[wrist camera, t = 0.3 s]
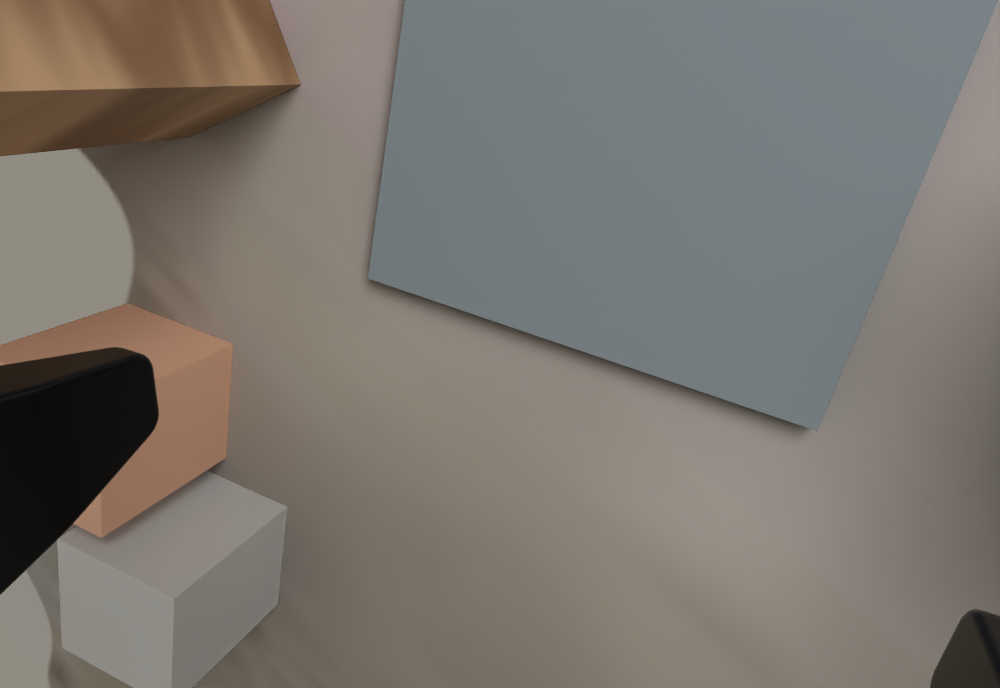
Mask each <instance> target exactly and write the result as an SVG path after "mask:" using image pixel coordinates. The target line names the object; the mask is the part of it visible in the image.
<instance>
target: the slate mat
mask: <svg viewBox="0 0 1000 688" xmlns="http://www.w3.org/2000/svg"><path fill="white" fill-rule="evenodd" d="M997 2H998V0H405V4H404V11H403V19H402V26H401V34H400V41H399V49H398V56H397V64H396V71H395V79H394V86H393V94H392V101H391V108H390V116H389V123H388V131H387V138H386V146H385V153H384V161H383V168H382V176H381V183H380V191H379V198H378V206H377V213H376V221H375V228H374V236H373V243H372V251H371V258H370V266H369V273H368V279H371V280H374V281H377V282H380V283H383V284H385V285H388V286H391V287H394V288H397V289H400V290H403V291H406V292H409V293H412V294H415V295H418V296H421V297H424V298H427V299H430V300H433V301H435V302H438V303H441V304H444V305H447V306H450V307H453V308H456V309H459V310H462V311H465V312H468V313H471V314H474V315H477V316H480V317H483V318H486V319H488V320H491V321H494V322H497V323H500V324H503V325H506V326H509V327H512V328H515V329H518V330H521V331H524V332H527V333H530V334H533V335H536V336H538V337H541V338H544V339H547V340H550V341H553V342H556V343H559V344H562V345H565V346H568V347H571V348H574V349H577V350H580V351H583V352H586V353H588V354H591V355H594V356H597V357H600V358H603V359H606V360H609V361H612V362H615V363H618V364H621V365H624V366H627V367H630V368H633V369H636V370H638V371H641V372H644V373H647V374H650V375H653V376H656V377H659V378H662V379H665V380H668V381H671V382H674V383H677V384H680V385H683V386H686V387H688V388H691V389H694V390H697V391H700V392H703V393H706V394H709V395H712V396H715V397H718V398H721V399H724V400H727V401H730V402H733V403H736V404H738V405H741V406H744V407H747V408H750V409H753V410H756V411H759V412H762V413H765V414H768V415H771V416H774V417H777V418H780V419H783V420H786V421H788V422H791V423H794V424H797V425H800V426H803V427H806V428H809V429H812V430H815V431H817V430H818V427H819V425H820V423H821V420H822V418H823V415H824V413H825V411H826V408H827V406H828V404H829V401H830V399H831V396H832V394H833V392H834V389H835V387H836V385H837V382H838V380H839V377H840V375H841V373H842V370H843V368H844V365H845V363H846V361H847V358H848V356H849V354H850V351H851V349H852V346H853V344H854V342H855V339H856V337H857V335H858V332H859V330H860V327H861V325H862V323H863V320H864V318H865V316H866V313H867V311H868V308H869V306H870V304H871V301H872V299H873V296H874V294H875V292H876V289H877V287H878V285H879V282H880V280H881V277H882V275H883V273H884V270H885V268H886V266H887V263H888V261H889V258H890V256H891V254H892V251H893V249H894V247H895V244H896V242H897V239H898V237H899V235H900V232H901V230H902V228H903V225H904V223H905V220H906V218H907V216H908V213H909V211H910V208H911V206H912V204H913V201H914V199H915V197H916V194H917V192H918V189H919V187H920V185H921V182H922V180H923V178H924V175H925V173H926V170H927V168H928V166H929V163H930V161H931V159H932V156H933V154H934V151H935V149H936V147H937V144H938V142H939V139H940V137H941V135H942V132H943V130H944V128H945V125H946V123H947V120H948V118H949V116H950V113H951V111H952V109H953V106H954V104H955V101H956V99H957V97H958V94H959V92H960V90H961V87H962V85H963V82H964V80H965V78H966V75H967V73H968V70H969V68H970V66H971V63H972V61H973V59H974V56H975V54H976V51H977V49H978V47H979V44H980V42H981V40H982V37H983V35H984V32H985V30H986V28H987V25H988V23H989V21H990V18H991V16H992V13H993V11H994V9H995V6H996V4H997Z"/></svg>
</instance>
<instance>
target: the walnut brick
mask: <svg viewBox="0 0 1000 688" xmlns="http://www.w3.org/2000/svg"><path fill="white" fill-rule="evenodd" d="M298 85H301V84H300V81H299V79H298V76H297V73H296V71H295V68H294V65H293V63H292V60H291V57H290V54H289V52H288V49H287V46H286V44H285V41H284V38H283V36H282V33H281V30H280V28H279V25H278V22H277V19H276V17H275V14H274V11H273V9H272V6H271V3H270V1H269V0H0V156H6V155H17V154H26V153H36V152H46V151H56V150H65V149H75V148H85V147H95V146H105V145H115V144H124V143H134V142H144V141H154V140H164V139H173V138H183V137H190V136H192V135H194V134H196V133H198V132H201V131H203V130H205V129H207V128H209V127H211V126H213V125H215V124H218V123H220V122H222V121H224V120H226V119H228V118H230V117H233V116H235V115H237V114H239V113H241V112H243V111H245V110H247V109H250V108H252V107H254V106H256V105H258V104H260V103H262V102H264V101H267V100H269V99H271V98H273V97H275V96H277V95H279V94H281V93H284V92H286V91H288V90H290V89H292V88H294V87H296V86H298Z"/></svg>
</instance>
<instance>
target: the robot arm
mask: <svg viewBox="0 0 1000 688" xmlns="http://www.w3.org/2000/svg"><path fill="white" fill-rule="evenodd" d="M158 418H159V407H158V400H157V393H156V385H155V378H154V370H153V366H152V363H151V361H150V360H149V358H148V357H146V356H145V355H143V354H141V353H138V352H134V351H131V350H128V349H125V348H121V347H110V348H104V349H98V350H92V351H86V352H80V353H73V354H67V355H61V356H55V357H49V358H43V359H37V360H31V361H25V362H18V363H12V364H6V365H0V594H2V593H3V592H4V591H5V589H7V588H8V587H9V586H10V585H11V584H12V583H13V582H14V581H15V580H16V579H17V578H18V577H19V576H20V575H21V574H22V573H23V572H24V571H25V570H26V569H27V568H29V567H30V566H31V565H32V564H33V563H34V562H35V561H36V560H37V559H38V558H39V557H40V556H41V555H42V554H43V553H44V552H45V551H46V550H47V549H48V548H49V547H50V546H51V545H52V544H53V543H54V542H56V541H57V539H58V538H59V537H60V536H61V535H62V534H63V533H64V532H65V531H66V530H67V529H68V528H69V527H70V526H71V525H72V524H73V523H74V522H75V521H76V520H77V519H78V518H79V517H80V515H81V514H82V513H83V512H84V511H85V510H86V509H87V508H88V506H89V505H90V504H91V503H92V502H93V501H94V500H95V498H96V497H97V496H98V495H99V494H100V493H101V491H102V490H103V489H104V488H105V487H106V486H107V485H108V483H109V482H110V481H111V480H112V479H113V478H114V477H115V475H116V474H117V473H118V472H119V471H120V470H121V468H122V467H123V466H124V465H125V464H126V463H127V462H128V460H129V459H130V458H131V457H132V456H133V455H134V453H135V452H136V451H137V450H138V449H139V448H140V447H141V445H142V444H143V443H144V442H145V441H146V440H147V439H148V437H149V436H150V435H151V434H152V432H153V431H154V429H155V427H156V425H157V422H158ZM930 688H1000V616H998V615H995V614H992V613H988V612H985V611H982V610H978V609H975V610H971V611H968V612H967V613H966V614H965V615H964V616H963V617H962V618H961V620H960V622H959V624H958V626H957V628H956V630H955V632H954V633H953V635H952V637H951V639H950V641H949V643H948V645H947V647H946V649H945V651H944V653H943V655H942V657H941V659H940V661H939V663H938V665H937V667H936V669H935V671H934V674H933V677H932V680H931V685H930Z"/></svg>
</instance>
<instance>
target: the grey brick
mask: <svg viewBox="0 0 1000 688" xmlns="http://www.w3.org/2000/svg"><path fill="white" fill-rule="evenodd" d="M286 517H287V506H285V505H282V504H280V503H278V502H276V501H273V500H271V499H269V498H267V497H265V496H262V495H260V494H258V493H256V492H253V491H251V490H249V489H247V488H244V487H242V486H240V485H238V484H236V483H233V482H231V481H229V480H227V479H224V478H222V477H220V476H218V475H215V474H213V473H211V472H209V471H207V470H206V471H205V472H203V473H202V474H200V475H199V476H197V477H196V478H194V479H192V480H191V481H189V482H188V483H186V484H185V485H183V486H182V487H180V488H178V489H177V490H175V491H174V492H172V493H171V494H169V495H168V496H166V497H164V498H163V499H161V500H160V501H158V502H157V503H155V504H154V505H152V506H150V507H149V508H147V509H146V510H144V511H143V512H141V513H140V514H138V515H136V516H135V517H133V518H132V519H130V520H129V521H127V522H125V523H124V524H122V525H121V526H119V527H118V528H116V529H115V530H113V531H111V532H110V533H108V534H107V535H105V536H104V537H102V538H101V537H99V536H97V535H95V534H93V533H91V532H89V531H87V530H85V529H83V528H81V527H79V526H77V527H76V528H74V529H72V530H71V531H69V532H67V533H66V534H64V535H62V536H61V537H59V538H58V539H57V549H58V571H59V593H60V614H61V636H62V648H63V649H65V650H67V651H69V652H70V653H72V654H74V655H76V656H77V657H79V658H81V659H83V660H85V661H86V662H88V663H90V664H92V665H94V666H95V667H97V668H99V669H101V670H102V671H104V672H106V673H108V674H110V675H111V676H113V677H115V678H117V679H118V680H120V681H122V682H124V683H126V684H127V685H129V686H131V687H133V688H193V687H194V686H195V685H196V684H197V683H198V682H199V681H200V680H201V679H202V678H203V677H204V676H205V675H206V674H207V673H208V672H209V671H210V670H211V669H212V668H213V667H214V666H215V665H216V664H217V663H218V662H219V661H220V660H221V659H222V658H223V657H224V656H225V655H226V654H227V653H228V652H230V651H231V650H232V649H233V648H234V647H235V646H236V645H237V644H238V643H239V642H240V641H241V640H242V639H243V638H244V637H245V636H246V635H247V634H248V633H249V632H250V631H251V630H252V629H253V628H254V627H255V626H256V625H257V624H258V623H259V622H260V621H261V620H262V619H263V618H264V617H265V616H266V615H267V614H268V613H269V612H271V611H272V610H273V609H274V608H275V607H276V606H277V605H278V596H279V586H280V576H281V566H282V556H283V546H284V537H285V527H286Z"/></svg>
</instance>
